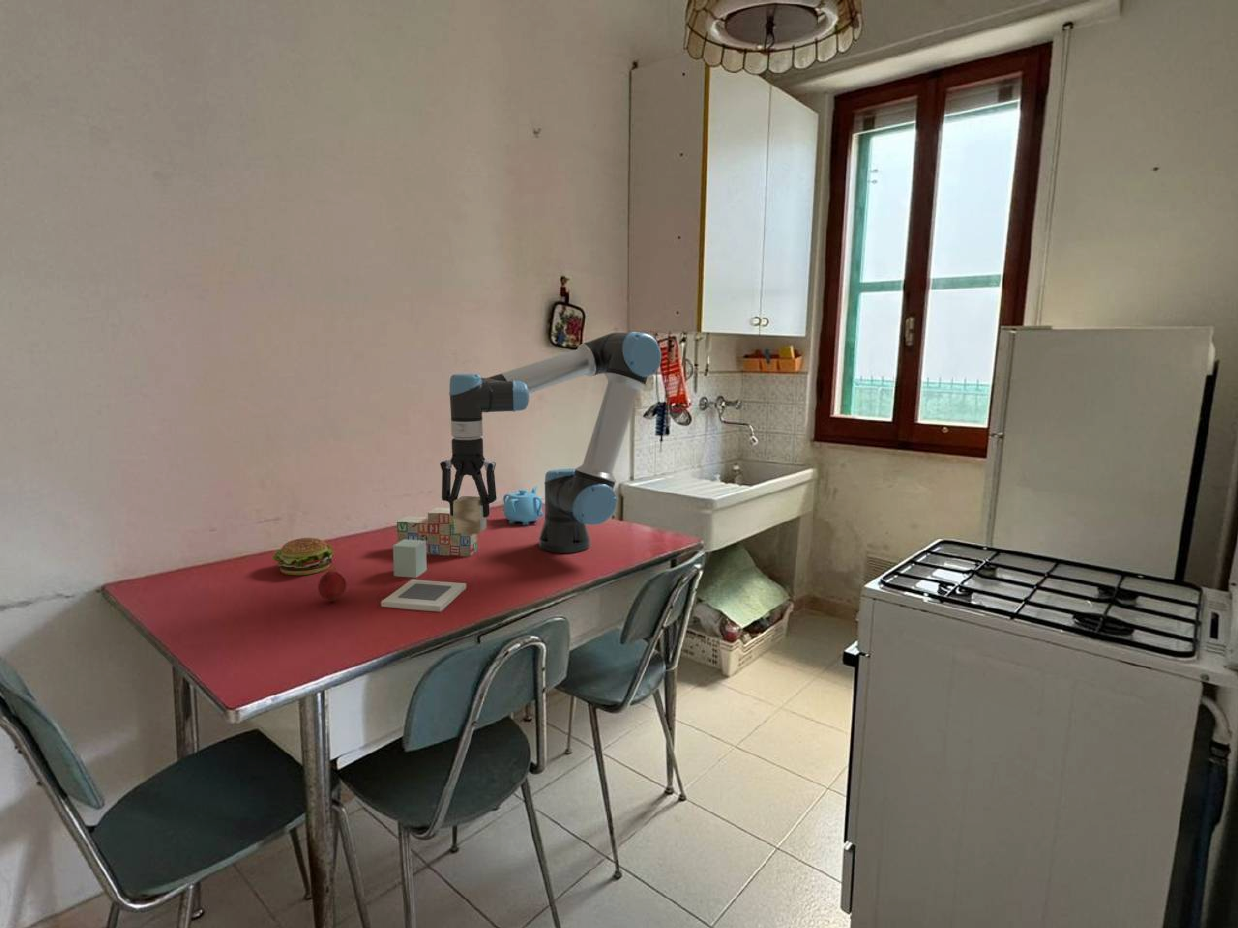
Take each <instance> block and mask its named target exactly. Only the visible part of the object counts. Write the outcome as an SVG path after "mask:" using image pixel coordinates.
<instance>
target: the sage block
mask: <svg viewBox="0 0 1238 928" xmlns="http://www.w3.org/2000/svg"><path fill="white" fill-rule="evenodd" d="M392 554H393V556H392V557H393V576H394V577H400V578H401V577H402V578H413V579H414V578H415V579H417V578H419V576H421V575H422V574H423V573H425V572H427V569H428V567H427V554H426V541H422V540H407V539H404V540H402V541H400V542H399V543H398V542H397V543H395V544H393V545H392Z"/></svg>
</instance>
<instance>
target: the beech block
mask: <svg viewBox="0 0 1238 928" xmlns="http://www.w3.org/2000/svg"><path fill="white" fill-rule="evenodd" d="M480 504H482V502H481V499H480V496H476V495H475V496H474V495H473V496H471V495H470V496H469V495H462V496H460V497H458V498H457V499H456V500H455V501H453V508H454V533H467V534H477V535H478V534H480V533H481V532H482V531H480V523H479V505H480Z"/></svg>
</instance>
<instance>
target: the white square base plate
mask: <svg viewBox="0 0 1238 928" xmlns="http://www.w3.org/2000/svg"><path fill="white" fill-rule="evenodd" d="M466 589H467V583H466V582H454V581H440V580H439V581H438V580H428V579H427V580H425V579H416V578H415V579H414V578H413V579H410V580H408V582H406V583H404V584H403V585H402V586H401V587H399V588H397V590H395V591H394V592H392V593H391V594H389V595H388V596H387V597H385V598H384V599H383V600H381V602H380V605H381V606H380V607H381V608H382V607H383V608H394V609H406V610H415V611H416V610H418V611H426V612H427V611H428V612H429V611H430V612H442V611H443V610H444V609H445V608H447V606H449V604H451V603H452V602H453V601H454V600H455V599H456V598H457V597H458V596H459V595H461V594H462V593H463V592H464V591H465V590H466Z"/></svg>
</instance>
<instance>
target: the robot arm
mask: <svg viewBox="0 0 1238 928" xmlns="http://www.w3.org/2000/svg"><path fill="white" fill-rule="evenodd" d="M661 361H662V350H661V348H660V346H659V343H658V342H657V340H656V339H655V338H654V337H653V336H651V335H650V334H648V333H645V332H639V331H632V332H612V333H609V334H608V333H607V334H605V335H603V336H600V337H598V338H595V339H592V340H589V341H587V342H585V343H581V344H579V345H578V346H577V349H573V350H571V351H568V352H565V353H561V354H559V355H558V354H557V355H554V356H552V357H548V358H546V359H542V360H539V361H536V362H533V363H530V364H527V365H524V366H520V367H516V368H515V369H510V370H508V371H503V372H501V373H498V374H496V375H492V376H488V377H481V375H480V374H479V373H455V374H452V375H451V376H450V378H449V392H448V395H449V404H450V405H449V406H450V432H451V433H450V434H451V436H452V438H451V454H452V456H451V458H450V459H449V460H447V459H446V460H443V461H441V462H440V464H439V465H440V468H441V470H442V471H441V472H442V473H441V475H442V477H441V479H442V480H441V500H442V501H443V502H448V503H449V508H450V515H451V516H454V508H453V501H455V500H456V499H458V498H459V494H460V490H461V487H462V484H463V480H464V477H465V476H470V477H471V478H472V480H473V481H474V484H475V487H476V490H477V493H478V497H480V499H481V502H482V504H480V505H479V523H480V531H481V532H483V531H485V530H486V529H487V518H488V517H489V516H490V504H493V503H494V502H496V501H497V500H498V499H497V488H496V477H495V475H496V474H495V470H496V465H497V463H496V462H495V461H492V462H490V461H488V460H486V459H485V457H484V439H483V438H482V436H483V435H484V434H483V433H484V431H483V430H484V429H483V413H495V412H496V413H497V412H498V413H499V412H514V413H515V412H518V411H519V412H520V411H524V410H526V409H527V407H528V406H529V403H530V394H532V393H535V392H539V391H541V390H544V389H548V388H549V387H553V386H556V385H559V384H562V383H564V382H568V381H571V380H574V379H576V378H579V377H582V376H587V377H591V378H592V377H593V376H596V375H601V374H604V375H605V377H606V380H607V384H606V389H605V391H604V395H603V398H602V401H601V405H600V407H599V411H598V414H597V417H596V421H595V423H594V426H593V431H592V434H591V436H590V437H591V438H590V439H589V443H588V447H587V450H586V453H585V456H584V459H583V463H582V464H581V465H580V466H578V467H576V468H563V469H562V468H561V469H559V468H558V469H552V470H551V469H550V470H548V471H547V472H546V473H545V474H544V475H545V476H544V522H543V525H542V529H541V532H540V534H539V538H538V547H539V549H541V550H543V551H546V552H550V553H559V554H564V553H565V554H566V553H567V554H569V553H578V552H582V551H585V550H587V549H589V548H590V547H591V536H590V533H589V531H588V527H587V525H590V526H598V525H601V524H604V522H606V521H608V520H609V519H610V518H611V517H612V516H613V514H614V513H615V511H616V509H617V505H618V501H617V500H618V499H617V496H616V492H615V486H616V485H615V484H616V479H615V476H614V474H613V473H614V470H615V467H616V464H617V460H618V456H619V453H620V450H621V447H622V444H623V440H624V437H625V434H626V431H627V429H628V428H627V427H628V424H629V420H630V418H631V414H632V411H633V409H634V405H635V401H636V399H637V396H638V393H639V391H641V390H642V389H643V388H645V387H646V385H647V381H648V379H649V377H650V376H652V375H654V374H655V373H656V372H657V371H658V370H659V368H660V365H661ZM452 467H454V469H455V473H454V480H453V484H452V488H451V482H452V481H451V479H452V478H451V477H452V471H451V470H452ZM483 467H484V470H485V471H486V473H485V475H486V486H487V487H486V486H485V483H484V479H483V474H482V471H481V470H482V468H483Z"/></svg>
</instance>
